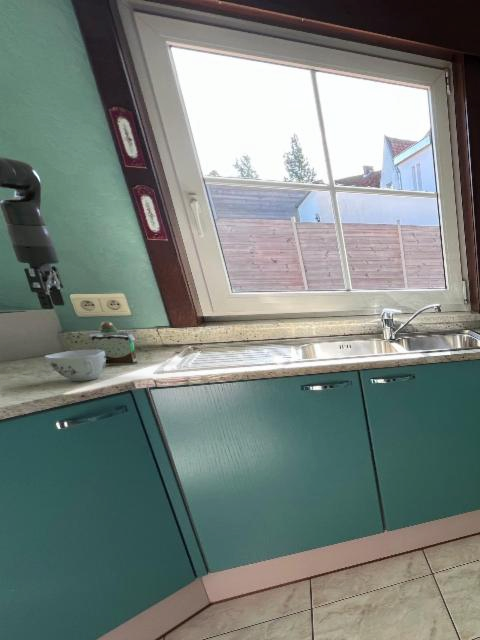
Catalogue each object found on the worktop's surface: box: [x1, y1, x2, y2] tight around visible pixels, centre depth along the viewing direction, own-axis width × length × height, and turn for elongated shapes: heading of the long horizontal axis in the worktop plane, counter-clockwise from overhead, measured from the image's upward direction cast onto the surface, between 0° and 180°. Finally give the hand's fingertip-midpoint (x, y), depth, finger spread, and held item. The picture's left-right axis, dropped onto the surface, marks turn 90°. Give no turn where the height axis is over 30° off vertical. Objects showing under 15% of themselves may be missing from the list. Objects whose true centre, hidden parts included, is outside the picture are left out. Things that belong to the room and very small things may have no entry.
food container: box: [88, 331, 138, 365], centre depth 169 cm, size 12×6×10 cm, turn 100°
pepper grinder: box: [98, 320, 119, 333], centre depth 178 cm, size 5×5×12 cm
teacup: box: [44, 349, 107, 382], centre depth 146 cm, size 15×12×8 cm
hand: (54, 307), depth 135 cm, fingers open, 8 cm apart
